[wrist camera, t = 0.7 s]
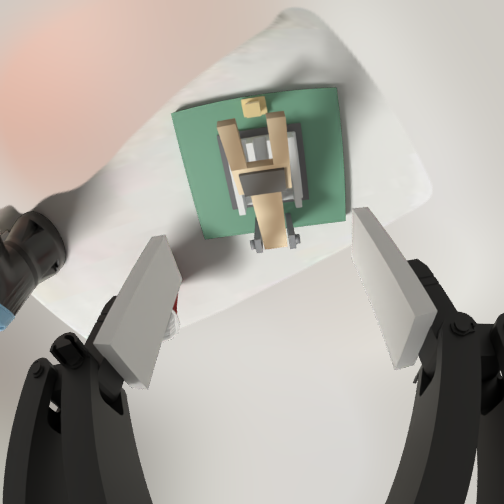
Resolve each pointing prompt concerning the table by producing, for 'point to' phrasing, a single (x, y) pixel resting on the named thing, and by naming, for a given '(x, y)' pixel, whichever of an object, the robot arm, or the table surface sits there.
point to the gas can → (4, 235)
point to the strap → (262, 176)
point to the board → (315, 151)
